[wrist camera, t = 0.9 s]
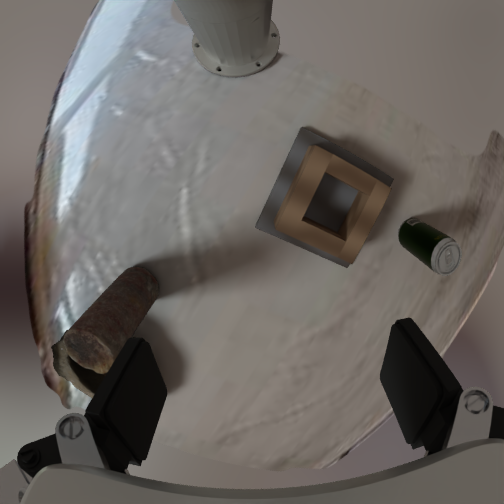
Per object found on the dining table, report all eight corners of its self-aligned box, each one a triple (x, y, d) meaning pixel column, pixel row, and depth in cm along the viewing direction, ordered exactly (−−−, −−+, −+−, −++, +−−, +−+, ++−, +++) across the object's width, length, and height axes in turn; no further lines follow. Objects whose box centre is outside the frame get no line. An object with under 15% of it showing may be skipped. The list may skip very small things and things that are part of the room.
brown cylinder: (131, 254, 43) (65, 320, 24) (168, 276, 44) (118, 355, 26) (118, 287, 45) (60, 357, 27) (152, 308, 47) (106, 387, 28)
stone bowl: (65, 293, 46) (43, 318, 38) (173, 337, 51) (165, 369, 42) (68, 367, 54) (55, 391, 46) (155, 402, 59) (149, 430, 50)
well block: (300, 127, 36) (307, 124, 30) (390, 178, 38) (407, 182, 32) (255, 225, 41) (255, 237, 36) (345, 265, 43) (355, 280, 38)
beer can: (393, 224, 40) (432, 250, 29) (418, 212, 39) (460, 233, 28) (400, 252, 42) (437, 283, 31) (424, 239, 41) (464, 267, 30)
